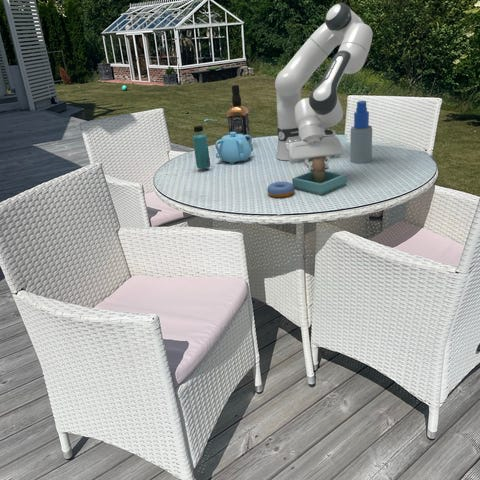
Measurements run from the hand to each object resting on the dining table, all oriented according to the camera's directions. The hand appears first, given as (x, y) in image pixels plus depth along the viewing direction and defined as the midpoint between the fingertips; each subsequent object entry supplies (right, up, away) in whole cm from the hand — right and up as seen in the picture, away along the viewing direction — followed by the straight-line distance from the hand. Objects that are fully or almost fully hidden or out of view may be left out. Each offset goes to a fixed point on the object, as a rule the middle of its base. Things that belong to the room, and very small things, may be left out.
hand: (319, 169), depth 165 cm
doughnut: (-14, -9, +1) cm, 17 cm away
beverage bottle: (-46, +6, +41) cm, 62 cm away
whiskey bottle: (-29, +23, +74) cm, 82 cm away
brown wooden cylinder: (0, -4, +2) cm, 4 cm away
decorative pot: (-31, +12, +52) cm, 62 cm away
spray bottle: (+23, +8, +30) cm, 39 cm away
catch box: (+1, -6, +3) cm, 7 cm away
